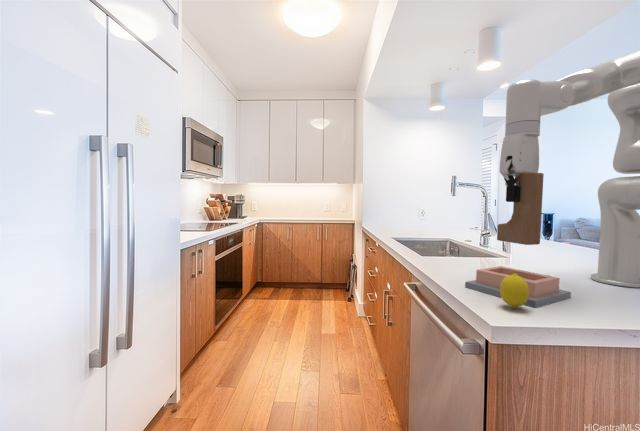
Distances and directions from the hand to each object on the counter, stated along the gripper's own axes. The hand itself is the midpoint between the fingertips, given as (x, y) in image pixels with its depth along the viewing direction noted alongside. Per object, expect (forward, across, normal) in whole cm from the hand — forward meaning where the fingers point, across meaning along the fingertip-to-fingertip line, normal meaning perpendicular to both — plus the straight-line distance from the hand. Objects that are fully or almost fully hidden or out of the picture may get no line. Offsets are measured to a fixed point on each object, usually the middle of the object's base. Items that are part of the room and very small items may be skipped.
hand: (518, 201), depth 79 cm
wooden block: (+11, 0, 0) cm, 11 cm away
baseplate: (+24, 0, 0) cm, 24 cm away
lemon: (+24, +13, +7) cm, 28 cm away
